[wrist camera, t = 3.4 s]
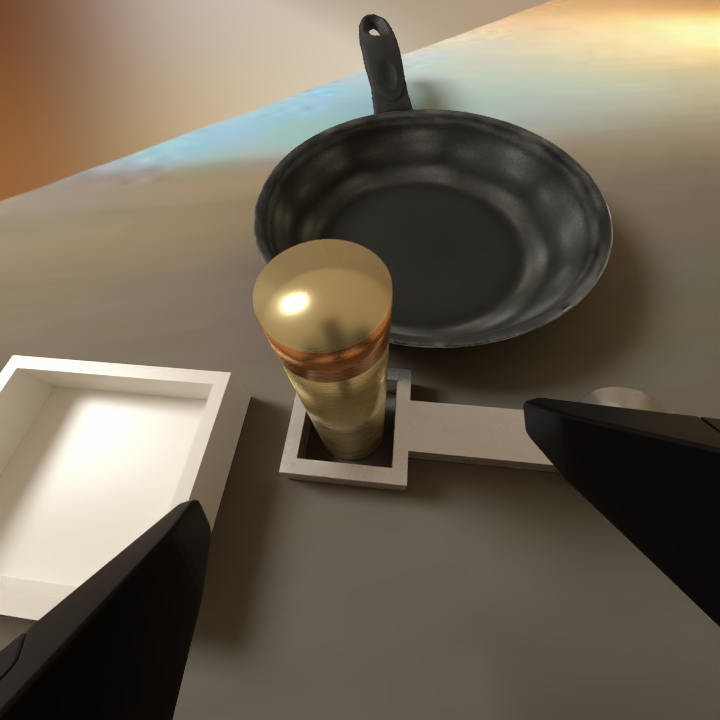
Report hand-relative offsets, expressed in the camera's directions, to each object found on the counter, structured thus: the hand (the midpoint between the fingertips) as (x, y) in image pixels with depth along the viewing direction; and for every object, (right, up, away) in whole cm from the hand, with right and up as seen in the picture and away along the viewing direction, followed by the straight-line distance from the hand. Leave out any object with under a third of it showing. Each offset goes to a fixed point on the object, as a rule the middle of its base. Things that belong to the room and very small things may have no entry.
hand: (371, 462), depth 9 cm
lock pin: (-1, -2, +12) cm, 12 cm away
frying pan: (+4, +18, +23) cm, 30 cm away
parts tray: (-15, -4, +11) cm, 19 cm away
